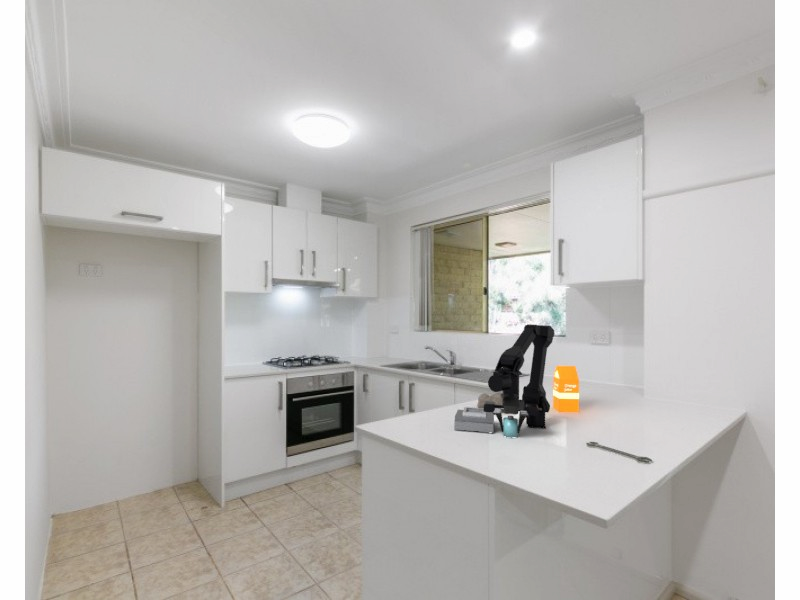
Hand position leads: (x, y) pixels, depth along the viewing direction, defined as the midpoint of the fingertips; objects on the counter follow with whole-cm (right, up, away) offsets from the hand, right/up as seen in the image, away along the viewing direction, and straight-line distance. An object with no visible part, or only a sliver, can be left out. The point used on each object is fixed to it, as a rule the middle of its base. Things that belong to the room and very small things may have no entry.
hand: (510, 432), depth 147 cm
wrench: (+29, -2, -16) cm, 34 cm away
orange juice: (+36, -3, +40) cm, 53 cm away
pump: (0, -1, 0) cm, 1 cm away
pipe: (+3, -3, +38) cm, 38 cm away
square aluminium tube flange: (-11, -1, +10) cm, 15 cm away
